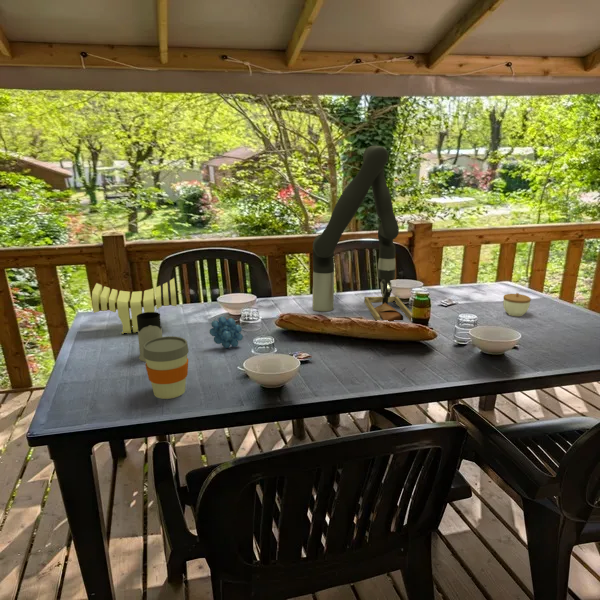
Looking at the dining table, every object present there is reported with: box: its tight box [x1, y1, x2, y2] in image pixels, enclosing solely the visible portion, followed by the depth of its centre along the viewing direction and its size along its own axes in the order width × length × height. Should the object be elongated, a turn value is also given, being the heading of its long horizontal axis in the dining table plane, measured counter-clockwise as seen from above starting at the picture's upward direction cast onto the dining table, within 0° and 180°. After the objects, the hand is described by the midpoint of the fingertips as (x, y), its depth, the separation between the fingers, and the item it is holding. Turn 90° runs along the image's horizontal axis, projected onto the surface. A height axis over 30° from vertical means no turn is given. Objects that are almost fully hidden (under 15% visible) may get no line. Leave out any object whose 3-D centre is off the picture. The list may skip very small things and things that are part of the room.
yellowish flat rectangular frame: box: [363, 295, 413, 322], centre depth 217 cm, size 15×29×2 cm, turn 3°
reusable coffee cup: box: [143, 335, 190, 400], centre depth 142 cm, size 13×13×15 cm
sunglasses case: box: [374, 302, 404, 322], centre depth 212 cm, size 18×7×7 cm
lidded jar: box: [502, 292, 532, 317], centre depth 211 cm, size 11×11×9 cm
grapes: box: [209, 316, 244, 349], centre depth 174 cm, size 12×7×12 cm, turn 100°
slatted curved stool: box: [91, 277, 178, 335], centre depth 194 cm, size 30×16×18 cm, turn 105°
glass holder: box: [137, 311, 163, 363], centre depth 169 cm, size 9×14×15 cm, turn 22°
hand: (385, 304), depth 222 cm, fingers closed
